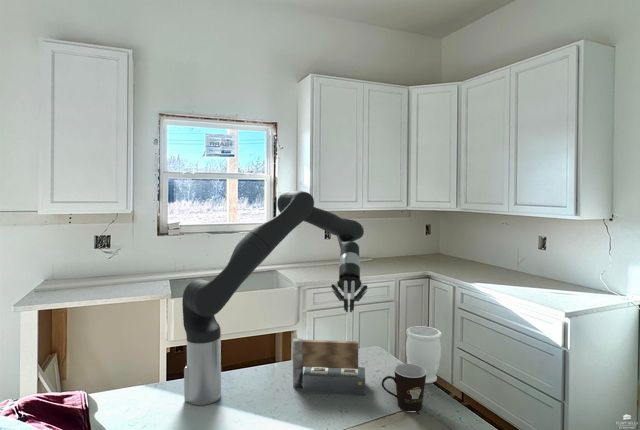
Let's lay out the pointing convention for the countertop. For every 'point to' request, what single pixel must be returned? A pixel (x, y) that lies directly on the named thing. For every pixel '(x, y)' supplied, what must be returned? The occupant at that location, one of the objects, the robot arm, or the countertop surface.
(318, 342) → the brown wooden board
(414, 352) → the jar
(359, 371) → the case
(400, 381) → the coffee mug
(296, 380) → the swing post
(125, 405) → the countertop surface
